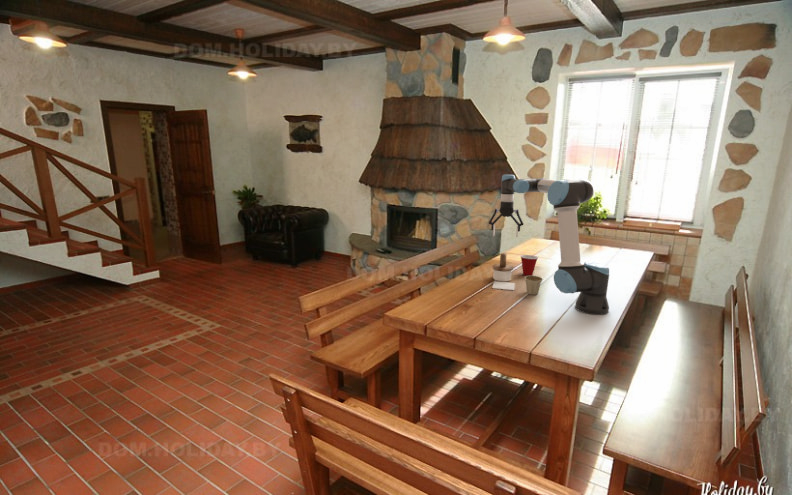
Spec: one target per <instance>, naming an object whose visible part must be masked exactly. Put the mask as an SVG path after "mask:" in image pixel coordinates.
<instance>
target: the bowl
mask: <svg viewBox="0 0 792 495" xmlns="http://www.w3.org/2000/svg"><path fill="white" fill-rule="evenodd" d="M492 274H493V275H492V279H493V280H494V281H497V282H509V281H511V279H512V271H506V272H504V271H497V270H494V269H493V272H492Z"/></svg>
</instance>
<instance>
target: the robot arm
mask: <svg viewBox="0 0 792 495" xmlns="http://www.w3.org/2000/svg"><path fill="white" fill-rule="evenodd" d="M515 175H516V174H515ZM515 175H514V174H503V175H502V176H501V185H500V187H501V188H500V204H499V206H500V207H499V208H495V209H494V211H493V214H492V216H491V218H490V220H489V221H488V224H489V225H491V231H492V237H495V234H496V223H497V222H498V221H499V219H500V218H501V217H503V218H504V217H507V218H512V220H513V221H514V223H515V224H516V233H515V234H516V235H515V236H516V238H518V237H519V232H520V231H521V227H522V226H524V221H523V220H522V217H521V215H520V212H519V211H520V210H519V209H514V199H515V194H516V193H517V194H526V193H542V194H547V196H546V197H547V200H548V202H549V204H550V205H552V206H553V211H555V212H556V213H557V224H558V236H559V237H558V238H559V248H560V249H559V251H560V262H559V264H557V267H558V268H557V270H556V271H554V274H553V281H554V285H555V287H556V289H558V290H559V291H560V292H561V293H563V294H575V293H579V295H578V296H577V299H576V301H575V306H574V307H575V309H577V310H578V311H580V312H582V313H585V314H589V315H606V314H608V313H609V312H610V310H609V309H610V305H609V302H608V297H607V293H608V286H609V280H610V268H609V267H608V266H607V265H605V264H601V263H595V262H590V261H589V262H588V261H587V262H582V261H581V251H580V238H579V237H580V236H579V235H580V234H579V225H578V223H579V222H578V221H579V220H578V212H577V211H578V210H579V209H580V207H581V204H583V203H584V204H585V203H587V202H589V201H590V200H591V199H592V197H593V196H594V193H595V187H594V185H593V184H592V183H591V181H589V180H587V179H582V178H578V179H574V178H573V179H570V178H569V179H559V180H558V179H547V178H541V177H540V178H522V179H521V178H519V179H518V178H516V176H515ZM498 212H499V215H498V216H497V217H496V214H498ZM514 213H515V215H516V216H517V218H518V220H519V221H518V220H517V218H516V217H515V215H514ZM495 217H496V218H495Z"/></svg>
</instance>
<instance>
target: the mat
mask: <svg viewBox="0 0 792 495" xmlns="http://www.w3.org/2000/svg"><path fill="white" fill-rule="evenodd" d="M492 288H493V289H494V290H501V289H503V290H502V291H511V290H513V291H515V288H516V283H515V282H509V281H497V280H494V281H493V283H492ZM492 288H491V289H492Z"/></svg>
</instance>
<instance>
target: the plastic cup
mask: <svg viewBox="0 0 792 495" xmlns="http://www.w3.org/2000/svg"><path fill="white" fill-rule="evenodd" d="M538 258H539V256H537V255H531V254H521V255H520V259H521V268H522V269H521V270H522V274H523V275H524V276H525V277H526V276H534V271H535V267H536V264H537V260H538Z"/></svg>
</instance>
